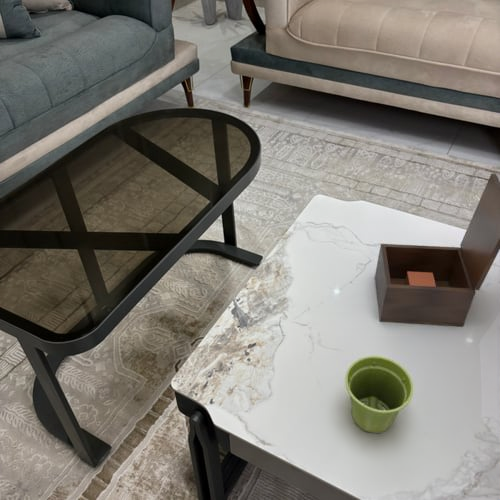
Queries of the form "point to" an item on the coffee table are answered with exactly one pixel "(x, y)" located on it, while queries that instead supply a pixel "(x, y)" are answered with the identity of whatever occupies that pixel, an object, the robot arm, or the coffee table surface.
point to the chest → (423, 297)
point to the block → (420, 279)
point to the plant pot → (377, 392)
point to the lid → (483, 234)
